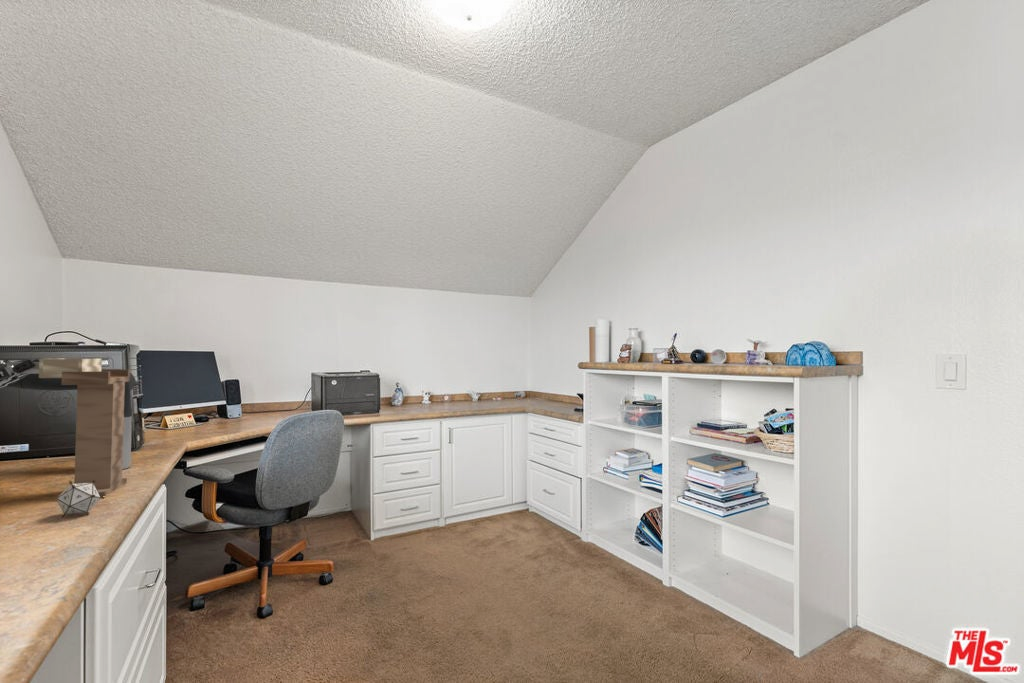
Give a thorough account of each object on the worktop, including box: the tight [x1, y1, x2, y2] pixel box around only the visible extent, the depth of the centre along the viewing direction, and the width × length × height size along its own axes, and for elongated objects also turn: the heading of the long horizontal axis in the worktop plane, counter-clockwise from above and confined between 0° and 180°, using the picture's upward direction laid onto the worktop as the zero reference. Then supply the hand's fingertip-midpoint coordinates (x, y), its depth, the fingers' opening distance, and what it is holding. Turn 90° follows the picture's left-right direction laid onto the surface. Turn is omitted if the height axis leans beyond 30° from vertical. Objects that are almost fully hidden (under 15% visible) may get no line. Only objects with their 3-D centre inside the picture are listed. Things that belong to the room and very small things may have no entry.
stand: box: [57, 369, 131, 497], centre depth 136 cm, size 15×10×34 cm, turn 21°
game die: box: [51, 479, 106, 518], centre depth 117 cm, size 9×8×10 cm
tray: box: [6, 357, 103, 378], centre depth 133 cm, size 12×18×5 cm
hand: (36, 362), depth 132 cm, fingers closed on tray, 3 cm apart
